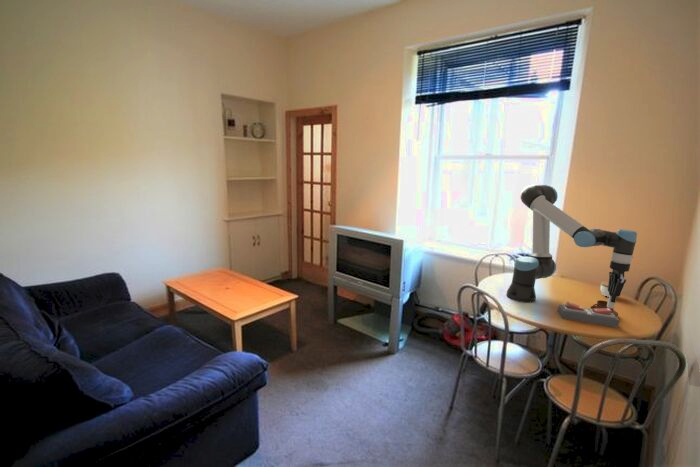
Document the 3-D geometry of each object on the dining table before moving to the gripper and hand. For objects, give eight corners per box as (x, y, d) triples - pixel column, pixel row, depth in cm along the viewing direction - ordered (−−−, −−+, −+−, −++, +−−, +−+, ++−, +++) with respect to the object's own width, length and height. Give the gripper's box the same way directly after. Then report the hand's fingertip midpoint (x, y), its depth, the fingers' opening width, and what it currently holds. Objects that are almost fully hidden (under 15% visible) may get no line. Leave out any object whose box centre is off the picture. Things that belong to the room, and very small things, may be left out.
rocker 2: (595, 313, 169) (595, 311, 169) (592, 310, 173) (592, 308, 172) (612, 313, 167) (612, 310, 167) (609, 310, 170) (609, 307, 170)
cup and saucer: (606, 320, 173) (608, 308, 172) (584, 310, 185) (586, 299, 183) (623, 318, 177) (625, 307, 176) (600, 308, 188) (603, 298, 187)
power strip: (561, 318, 172) (563, 309, 171) (557, 311, 180) (559, 302, 179) (617, 327, 165) (620, 318, 164) (610, 320, 173) (612, 311, 172)
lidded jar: (617, 301, 200) (621, 286, 198) (596, 295, 208) (599, 280, 206) (622, 297, 206) (625, 283, 204) (601, 291, 214) (604, 277, 212)
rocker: (568, 306, 173) (569, 303, 172) (566, 303, 176) (567, 301, 176) (582, 311, 171) (584, 309, 171) (580, 308, 174) (581, 306, 174)
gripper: (636, 266, 156) (625, 314, 161) (624, 259, 168) (613, 304, 173) (617, 264, 159) (606, 311, 163) (606, 257, 171) (596, 301, 175)
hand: (610, 307), depth 168 cm, fingers closed
